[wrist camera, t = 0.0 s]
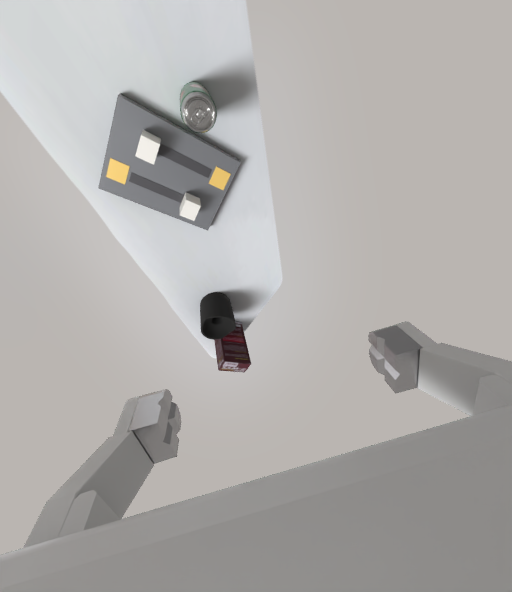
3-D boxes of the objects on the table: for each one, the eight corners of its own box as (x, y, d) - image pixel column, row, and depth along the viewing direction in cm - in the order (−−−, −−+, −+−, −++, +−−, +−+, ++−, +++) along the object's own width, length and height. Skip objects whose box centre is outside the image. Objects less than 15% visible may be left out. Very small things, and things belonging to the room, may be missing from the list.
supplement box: (212, 328, 87) (217, 371, 76) (217, 318, 84) (223, 361, 73) (236, 331, 91) (244, 373, 80) (242, 322, 88) (251, 363, 77)
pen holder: (230, 311, 84) (235, 337, 77) (200, 315, 82) (202, 341, 75) (230, 289, 77) (236, 314, 70) (197, 292, 75) (199, 318, 68)
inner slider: (143, 129, 45) (140, 134, 43) (161, 138, 47) (160, 144, 44) (137, 149, 47) (135, 156, 45) (155, 158, 49) (153, 164, 46)
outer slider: (185, 192, 54) (185, 199, 51) (199, 198, 55) (200, 206, 53) (179, 207, 56) (179, 215, 53) (193, 212, 57) (194, 221, 55)
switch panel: (119, 93, 43) (117, 95, 42) (239, 159, 54) (240, 163, 53) (100, 184, 52) (98, 188, 50) (207, 226, 62) (207, 230, 61)
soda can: (216, 98, 47) (224, 112, 38) (199, 124, 49) (203, 142, 40) (190, 73, 44) (194, 81, 35) (174, 102, 46) (173, 116, 37)
